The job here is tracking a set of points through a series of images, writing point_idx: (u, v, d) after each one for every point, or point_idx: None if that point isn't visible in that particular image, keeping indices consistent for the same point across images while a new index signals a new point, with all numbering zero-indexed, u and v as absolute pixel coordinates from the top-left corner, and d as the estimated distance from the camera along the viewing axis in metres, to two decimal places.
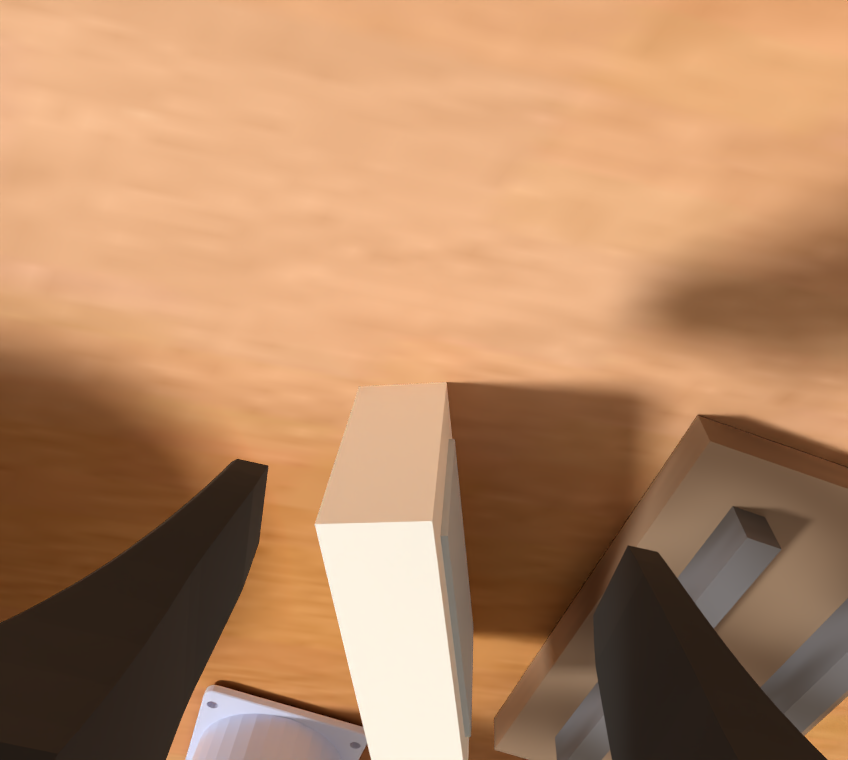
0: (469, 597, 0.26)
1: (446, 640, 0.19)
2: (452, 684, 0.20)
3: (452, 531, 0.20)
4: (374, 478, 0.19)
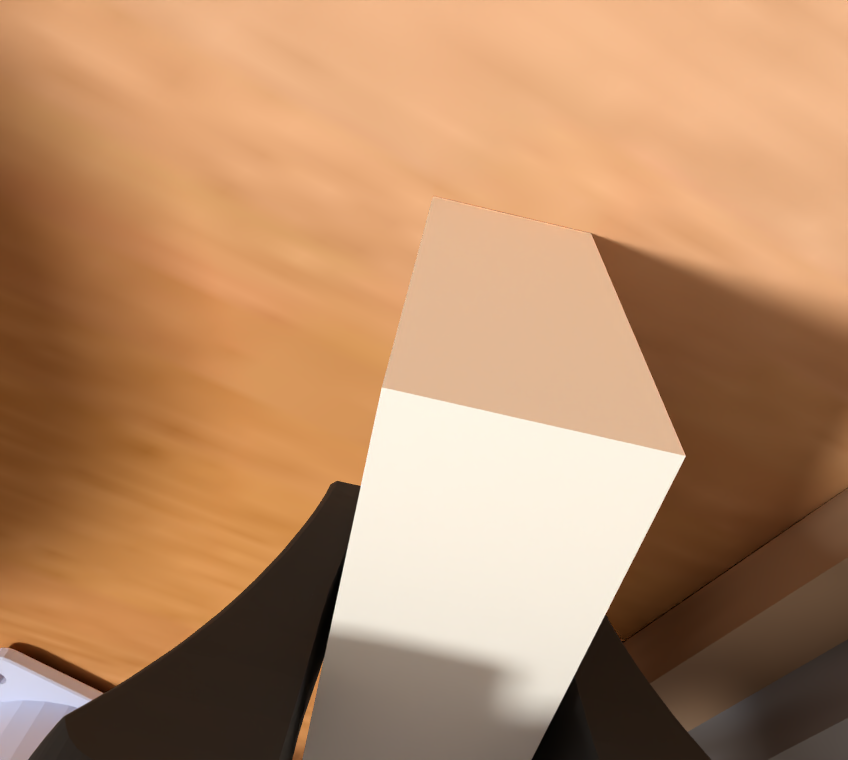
0: None
1: (547, 723, 0.09)
2: None
3: None
4: (507, 335, 0.08)
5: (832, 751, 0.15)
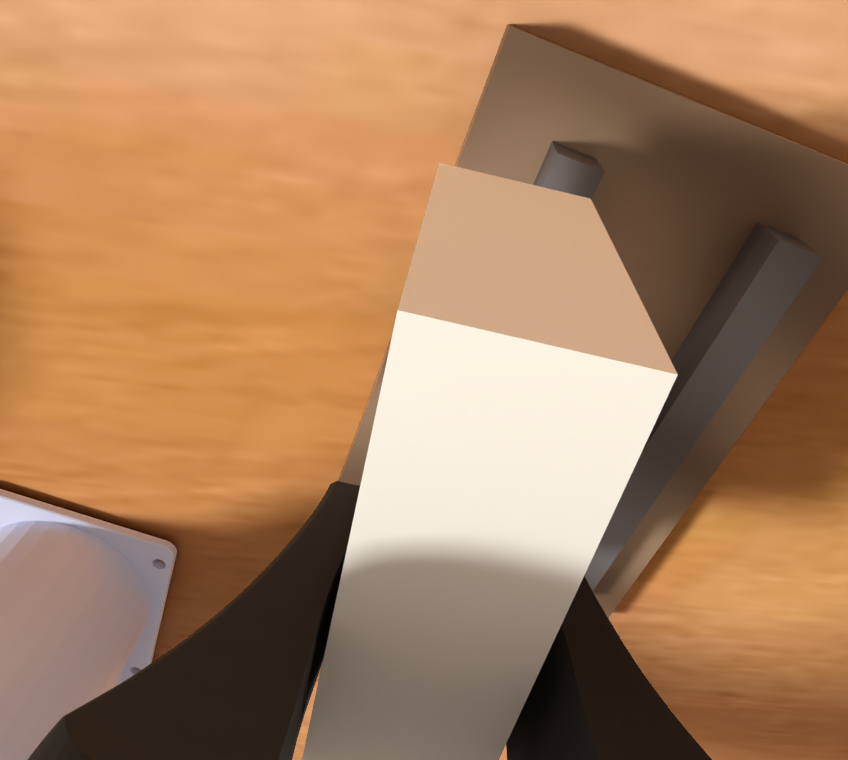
0: None
1: (549, 645, 0.09)
2: (511, 727, 0.10)
3: None
4: (512, 275, 0.09)
5: None
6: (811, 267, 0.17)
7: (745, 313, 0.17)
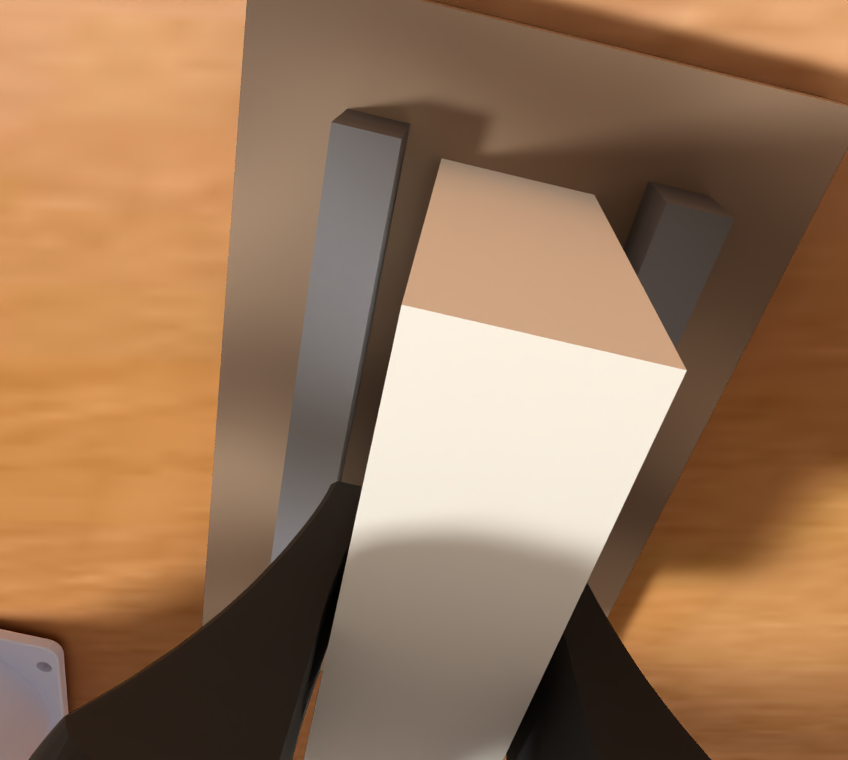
0: None
1: (554, 645, 0.09)
2: (515, 728, 0.10)
3: None
4: (517, 270, 0.09)
5: (333, 367, 0.14)
6: (720, 234, 0.12)
7: None
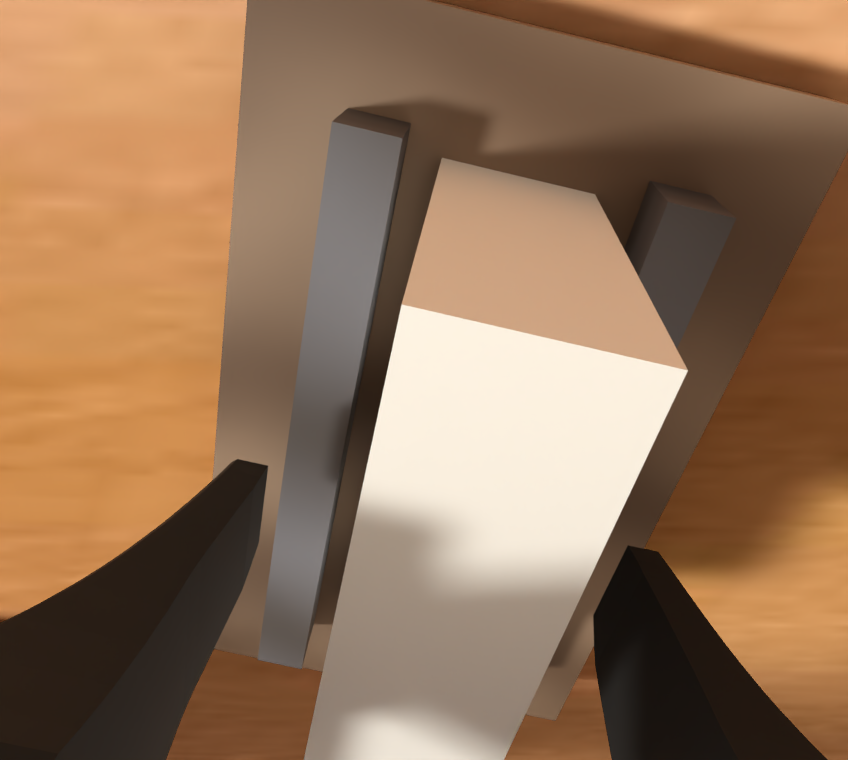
0: None
1: (555, 646, 0.09)
2: (515, 729, 0.10)
3: None
4: (517, 270, 0.08)
5: (333, 367, 0.14)
6: (722, 234, 0.12)
7: None
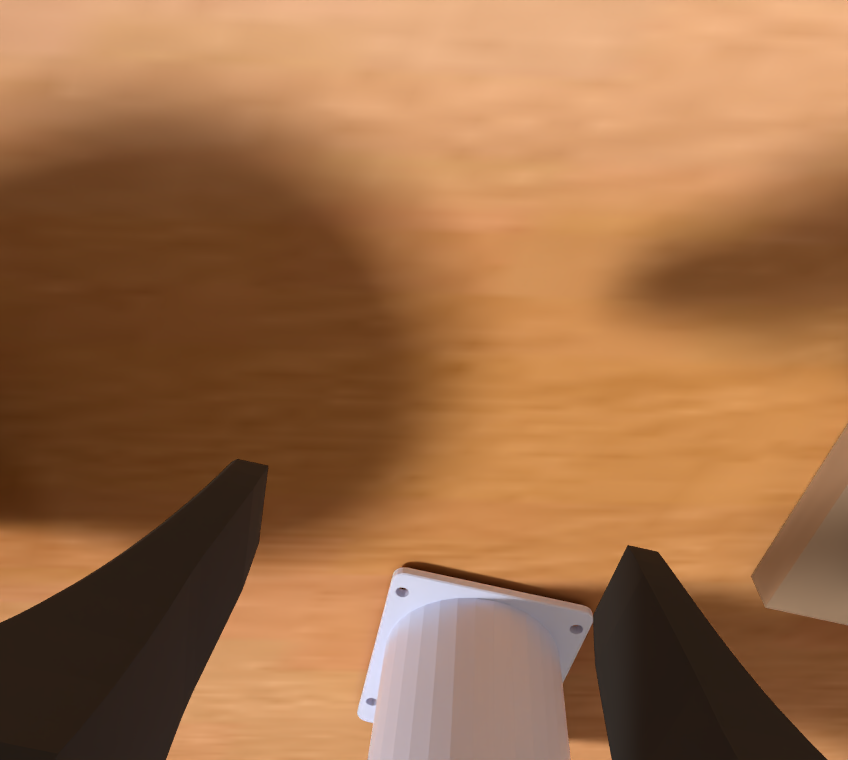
0: None
1: None
2: None
3: None
4: None
5: None
6: None
7: None
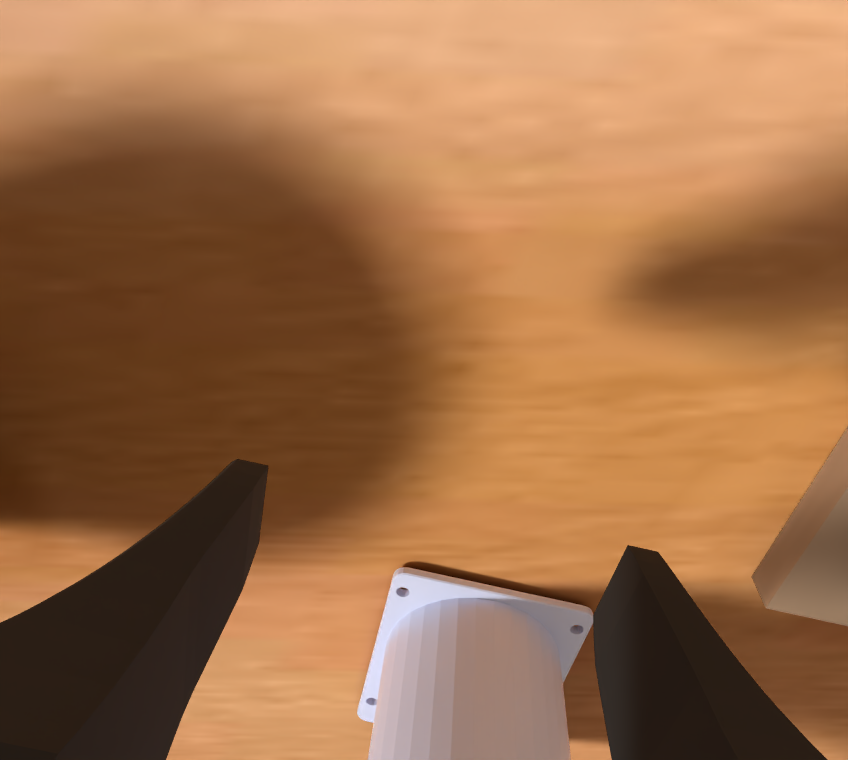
0: None
1: None
2: None
3: None
4: None
5: None
6: None
7: None
